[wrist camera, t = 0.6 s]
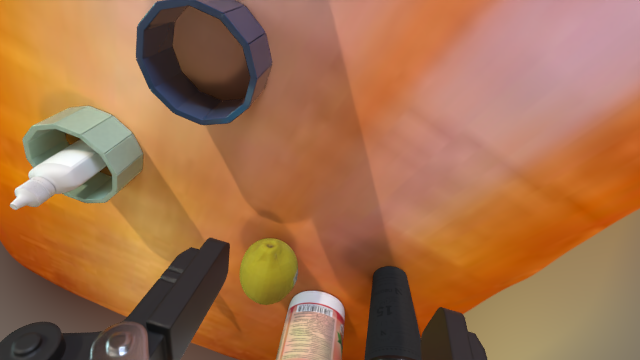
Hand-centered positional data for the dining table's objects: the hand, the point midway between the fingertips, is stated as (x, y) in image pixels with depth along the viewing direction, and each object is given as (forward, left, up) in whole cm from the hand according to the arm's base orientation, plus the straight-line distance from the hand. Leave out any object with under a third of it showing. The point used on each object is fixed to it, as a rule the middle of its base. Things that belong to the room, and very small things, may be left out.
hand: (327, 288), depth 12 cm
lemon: (+23, -13, -24) cm, 35 cm away
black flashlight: (+29, +3, -24) cm, 37 cm away
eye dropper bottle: (+5, -32, -24) cm, 40 cm away
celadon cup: (+5, -32, -23) cm, 40 cm away
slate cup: (-4, -13, -23) cm, 27 cm away
